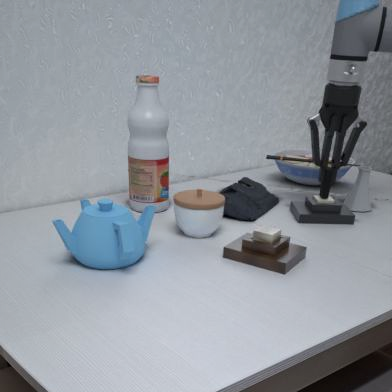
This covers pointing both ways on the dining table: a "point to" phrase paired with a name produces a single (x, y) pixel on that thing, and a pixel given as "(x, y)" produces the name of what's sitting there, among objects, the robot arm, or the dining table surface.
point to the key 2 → (322, 200)
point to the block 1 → (265, 253)
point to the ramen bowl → (303, 166)
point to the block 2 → (321, 212)
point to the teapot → (106, 234)
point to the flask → (360, 192)
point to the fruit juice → (148, 148)
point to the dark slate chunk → (247, 200)
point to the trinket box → (198, 211)
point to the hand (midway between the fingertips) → (323, 196)
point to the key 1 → (267, 234)
